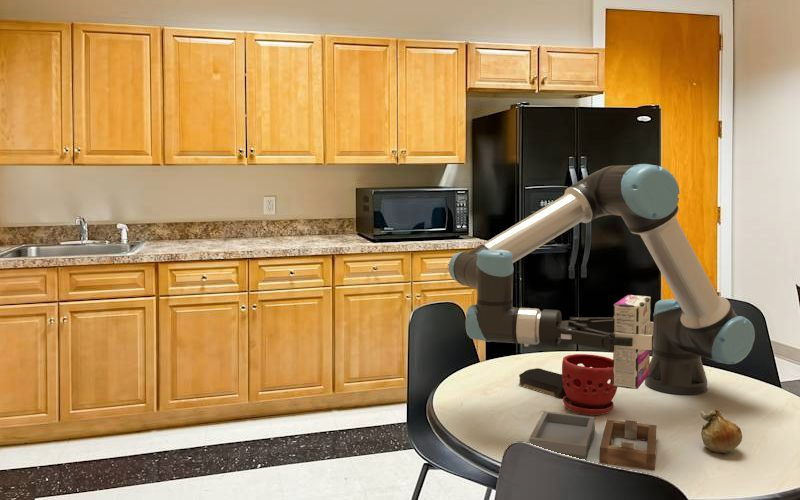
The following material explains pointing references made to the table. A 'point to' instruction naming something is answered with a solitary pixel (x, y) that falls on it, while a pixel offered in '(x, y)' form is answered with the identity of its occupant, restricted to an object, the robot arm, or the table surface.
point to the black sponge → (543, 381)
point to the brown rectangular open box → (628, 444)
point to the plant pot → (588, 384)
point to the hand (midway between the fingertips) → (652, 335)
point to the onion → (720, 433)
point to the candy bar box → (626, 361)
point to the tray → (564, 433)
